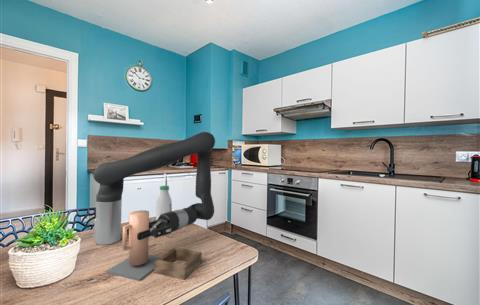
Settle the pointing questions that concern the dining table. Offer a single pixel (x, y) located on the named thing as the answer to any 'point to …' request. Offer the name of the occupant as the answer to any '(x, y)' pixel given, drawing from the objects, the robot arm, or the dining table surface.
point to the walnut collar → (178, 270)
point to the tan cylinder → (136, 247)
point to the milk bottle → (163, 202)
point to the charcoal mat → (133, 269)
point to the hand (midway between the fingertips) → (132, 234)
